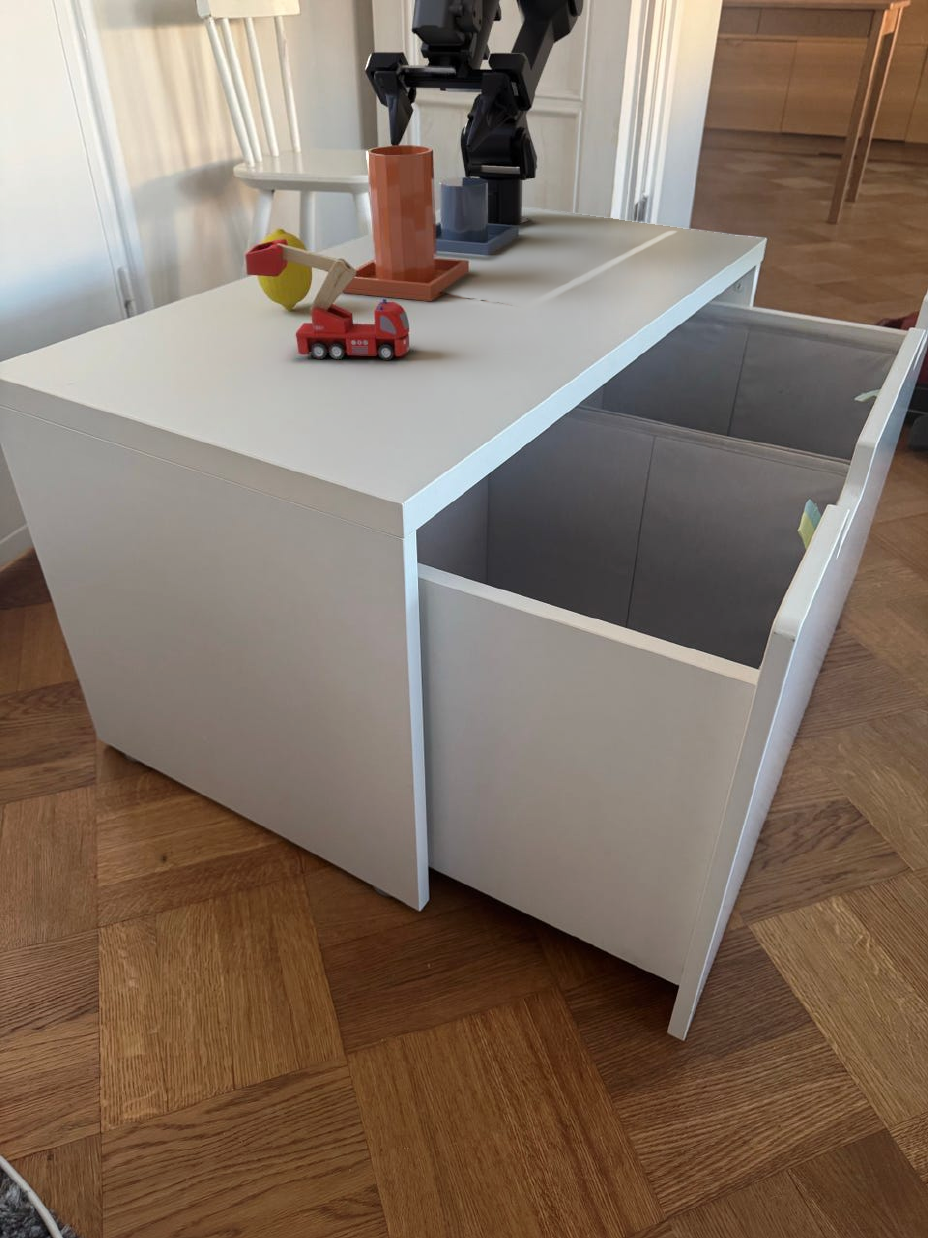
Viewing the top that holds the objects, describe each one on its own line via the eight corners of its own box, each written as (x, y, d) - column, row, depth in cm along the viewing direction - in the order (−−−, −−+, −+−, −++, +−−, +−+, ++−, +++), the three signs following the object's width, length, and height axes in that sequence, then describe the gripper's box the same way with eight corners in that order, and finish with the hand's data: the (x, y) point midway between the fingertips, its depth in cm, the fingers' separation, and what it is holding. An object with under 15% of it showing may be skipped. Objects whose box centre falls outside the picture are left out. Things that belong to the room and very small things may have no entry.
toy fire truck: (407, 361, 82) (401, 247, 76) (258, 358, 83) (242, 247, 78) (413, 348, 85) (407, 238, 79) (268, 346, 86) (253, 237, 80)
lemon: (326, 305, 96) (317, 224, 92) (297, 320, 92) (286, 236, 88) (282, 299, 98) (271, 220, 94) (251, 314, 94) (239, 232, 90)
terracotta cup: (416, 267, 106) (410, 142, 99) (448, 280, 102) (445, 150, 94) (365, 277, 103) (355, 149, 96) (396, 291, 98) (388, 157, 91)
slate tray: (443, 233, 122) (443, 219, 121) (518, 239, 119) (518, 225, 118) (408, 252, 114) (408, 237, 113) (488, 259, 111) (488, 244, 110)
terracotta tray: (385, 268, 108) (384, 253, 107) (468, 275, 105) (468, 260, 104) (342, 292, 100) (340, 276, 99) (431, 301, 97) (431, 284, 96)
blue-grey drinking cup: (458, 233, 120) (456, 175, 116) (497, 239, 117) (497, 179, 113) (431, 243, 116) (429, 183, 112) (471, 249, 113) (471, 187, 109)
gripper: (365, -36, 99) (326, 91, 97) (529, -41, 93) (491, 95, 91) (400, 45, 109) (366, 162, 107) (550, 46, 103) (516, 169, 101)
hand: (430, 147), depth 101 cm, fingers open, 9 cm apart
